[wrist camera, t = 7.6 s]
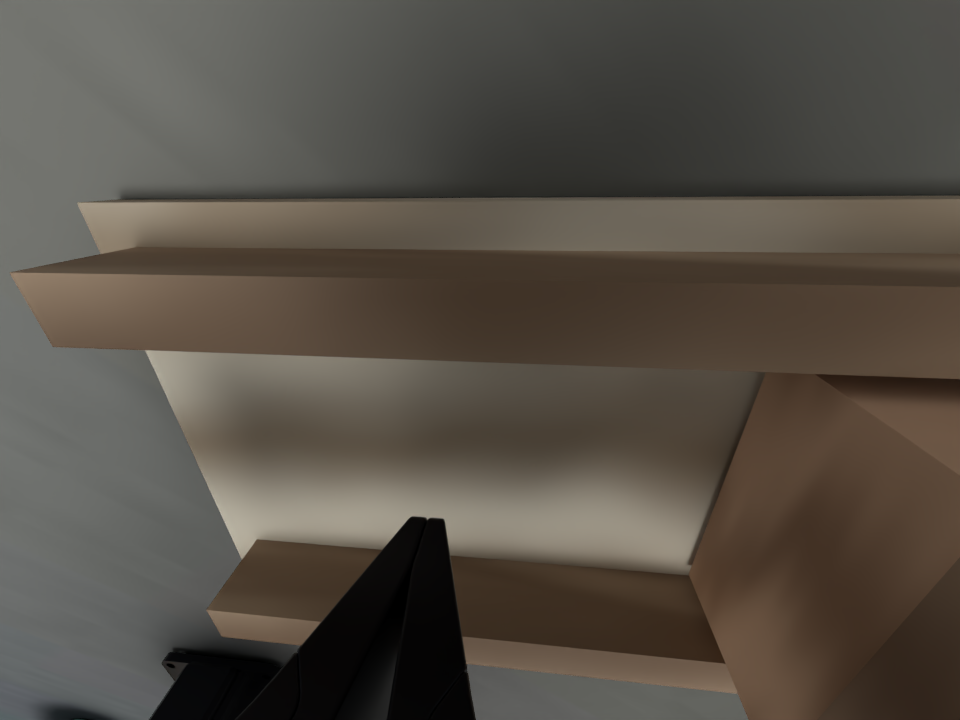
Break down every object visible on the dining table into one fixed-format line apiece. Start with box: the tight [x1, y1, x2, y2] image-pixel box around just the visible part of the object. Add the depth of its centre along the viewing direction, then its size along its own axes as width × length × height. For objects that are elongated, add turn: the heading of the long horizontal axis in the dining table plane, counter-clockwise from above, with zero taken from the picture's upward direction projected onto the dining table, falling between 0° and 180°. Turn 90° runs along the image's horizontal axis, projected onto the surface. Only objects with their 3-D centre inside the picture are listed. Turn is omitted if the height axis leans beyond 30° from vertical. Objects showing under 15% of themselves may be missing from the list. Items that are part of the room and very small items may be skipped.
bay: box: [10, 196, 960, 694], centre depth 10 cm, size 14×30×4 cm, turn 91°
